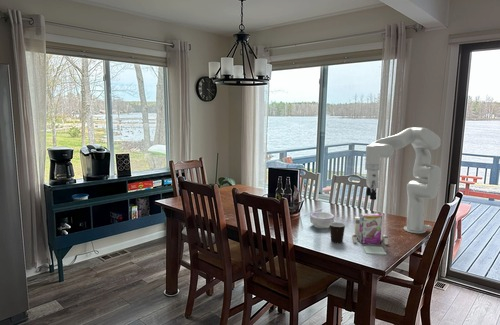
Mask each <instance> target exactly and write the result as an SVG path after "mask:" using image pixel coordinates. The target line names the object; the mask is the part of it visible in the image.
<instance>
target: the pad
mask: <svg viewBox="0 0 500 325" xmlns="http://www.w3.org/2000/svg"><path fill="white" fill-rule="evenodd" d="M362 248H363V250H364V252H365V254H366V255H381V256H387V252H386V250H385V249H384V247H383V246H374V245H373V246H372V245H370V246H368V245H362Z"/></svg>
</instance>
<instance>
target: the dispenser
mask: <svg viewBox="0 0 500 325" xmlns="http://www.w3.org/2000/svg"><path fill="white" fill-rule="evenodd" d="M359 221H360V216H354V228H353V229H354V231H353V233H351V241H352V243H353V244H357V239H359ZM381 238H382V239H381V241H382V243H383V244H384V245H388V242H389V241H388V239H389V236H388V235H386V234H381Z"/></svg>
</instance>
